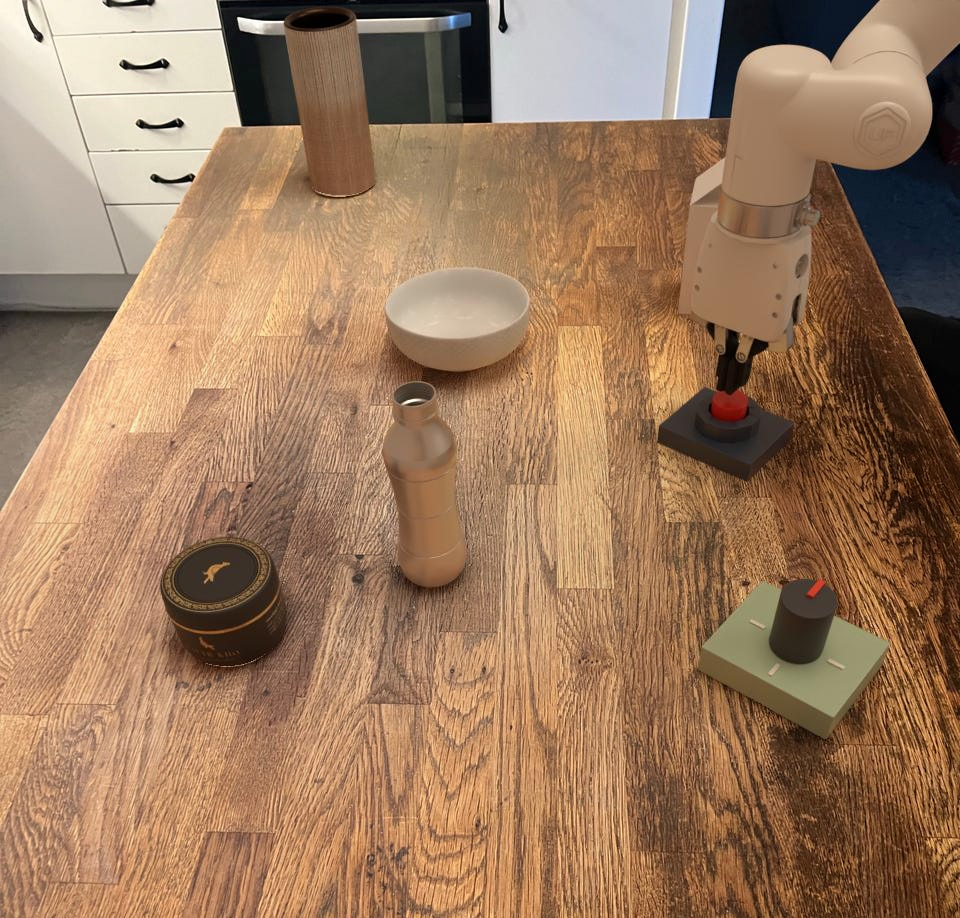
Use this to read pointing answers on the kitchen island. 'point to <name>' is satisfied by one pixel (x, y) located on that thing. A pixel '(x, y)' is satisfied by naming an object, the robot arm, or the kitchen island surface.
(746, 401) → the button
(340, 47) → the planter
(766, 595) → the panel
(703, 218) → the milk carton
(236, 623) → the jar
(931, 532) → the kitchen island surface
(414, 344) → the cereal bowl
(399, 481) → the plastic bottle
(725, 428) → the button block
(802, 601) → the knob
